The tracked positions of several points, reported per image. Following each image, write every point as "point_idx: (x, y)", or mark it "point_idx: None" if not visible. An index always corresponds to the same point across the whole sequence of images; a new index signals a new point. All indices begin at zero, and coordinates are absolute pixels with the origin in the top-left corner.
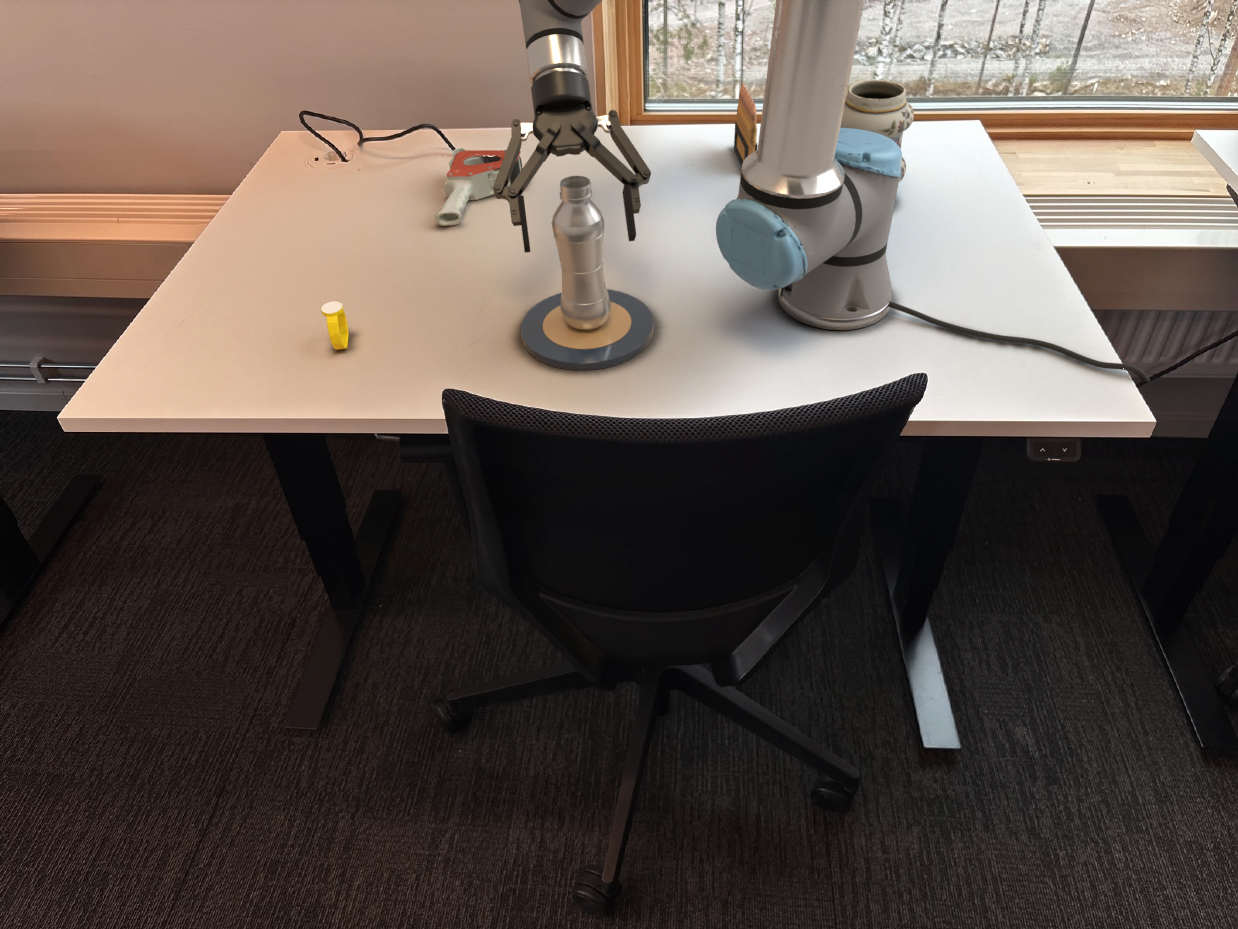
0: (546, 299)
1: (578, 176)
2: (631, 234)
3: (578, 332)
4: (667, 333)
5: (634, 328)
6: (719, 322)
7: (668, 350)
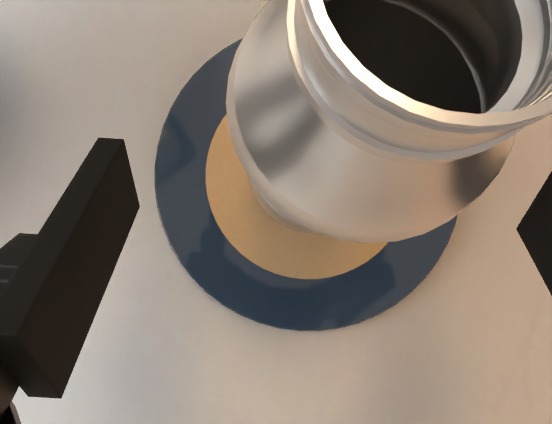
0: (387, 303)
1: (412, 103)
2: (118, 139)
3: None
4: (138, 123)
5: (206, 127)
6: (15, 135)
7: (151, 61)
